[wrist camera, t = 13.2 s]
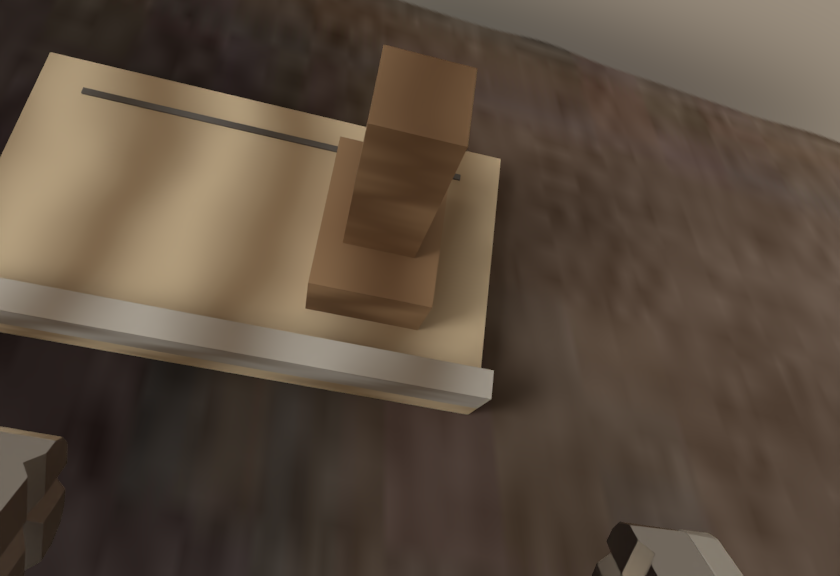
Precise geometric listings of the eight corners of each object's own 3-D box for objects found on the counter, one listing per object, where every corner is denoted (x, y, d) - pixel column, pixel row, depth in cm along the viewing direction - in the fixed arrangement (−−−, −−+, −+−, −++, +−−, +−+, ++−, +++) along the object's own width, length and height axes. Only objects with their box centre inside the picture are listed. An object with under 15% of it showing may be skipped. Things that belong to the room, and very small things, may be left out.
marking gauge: (305, 308, 27) (320, 173, 17) (337, 162, 30) (365, -25, 20) (417, 330, 28) (494, 212, 18) (437, 185, 31) (513, 15, 21)
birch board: (-54, 322, 25) (-102, 291, 22) (60, 73, 30) (35, 19, 27) (467, 414, 28) (491, 399, 25) (491, 174, 33) (513, 136, 30)
